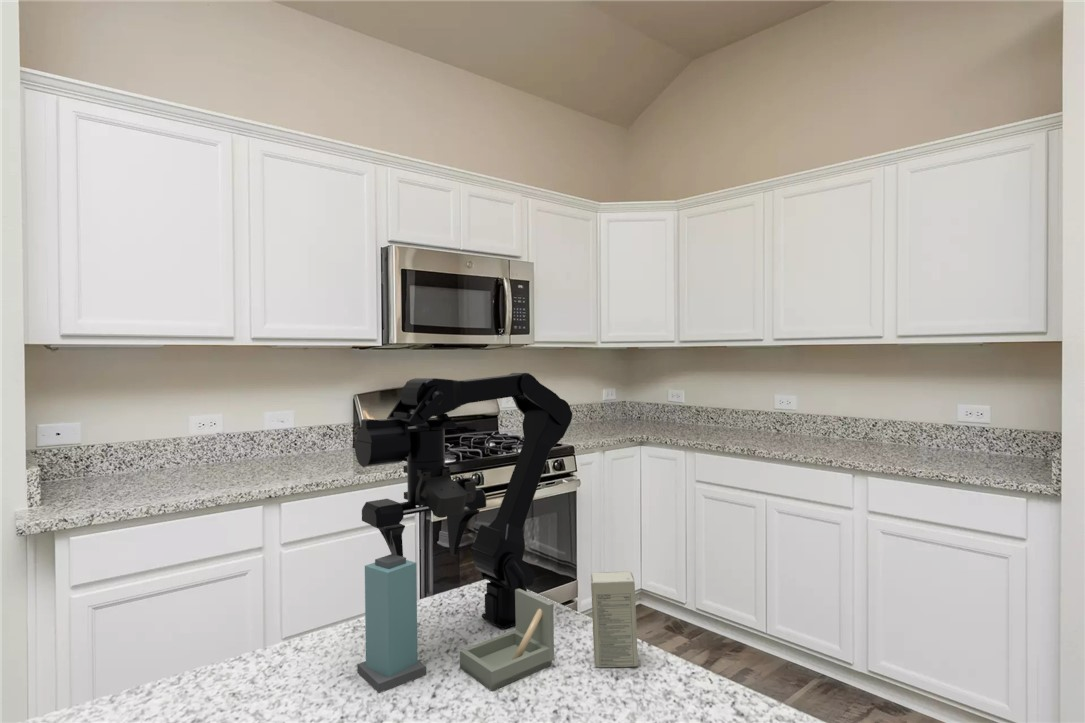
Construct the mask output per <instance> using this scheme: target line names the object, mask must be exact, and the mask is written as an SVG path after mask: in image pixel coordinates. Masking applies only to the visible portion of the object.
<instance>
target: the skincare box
mask: <svg viewBox="0 0 1085 723" xmlns="http://www.w3.org/2000/svg"><path fill="white" fill-rule="evenodd" d="M635 585H636V582H635V578H634V575H633V573H632V571H631V570H630V571H599V572H590V586H591V587H590V588H591V611H592V612H591V614H592V616H591V617H592V636H593V639H592V640H593V642H592V643H593V659H594V660H593V661H594V667H595V668H624V667H625V668H626V667H627V668H628V667H638V666H639V656H638V655H639V653H638V651H639V650H638V632H637V629H638V627H637V610H636V609H637V607H636V589H635V588H636V586H635Z"/></svg>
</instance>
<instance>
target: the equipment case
mask: <svg viewBox="0 0 1085 723" xmlns="http://www.w3.org/2000/svg"><path fill="white" fill-rule="evenodd" d="M515 616H516V625H515V629H514V630H511V631H508V632H506V633H503V634H501V635H499V636H495V637H492V638H490V639H489V638H488V639H487V640H484V641H482V642H479V643H476V644H473V645H470V646H468V647H466V648H462V649H460V650H459V669H460V670H462V671H463V672H465V673H466V674H468V675H469V676H470V677H472V678H473V679H474V680H475V681H477V682H479V683H480V684H482V685H483V686H484V687H486V688H487V689H489V690H490V691H492V692H493V691H497V689H500V688H502V687H504V686H507V685H509V684H512V683H514V682H516V681H519V680H521V679H523V678H525V677H527V676H530V675H532V674H534V673H536V672H539V671H541V670H544V669H546V668H549V667H550V666H551V662H552V661H555V642H554V641H555V636H554V635H555V633H554V632H555V631H554V629H555V627H554V622H555V621H554V619H555V618H554V603H552V602H550V601H548V600H547V599H544V598H542V597H539V596H537V595H536V594H533V593H531V592H529V591H527V592H526V591H524V590H522V589H516V590H515Z"/></svg>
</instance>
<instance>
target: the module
mask: <svg viewBox="0 0 1085 723" xmlns="http://www.w3.org/2000/svg"><path fill="white" fill-rule="evenodd" d="M417 579H418V578H417V562H415V561H411V560H408V559H407V557H405V556H403V557H402V556H398V555H394V554H391V553H390V554H388V555H385V556H382V557H379V558H376V559H375V560H374V562H372V563H370V564H366V565H364V608H365V609H364V610H365V611H364V614H365V615H364V616H365V617H364V619H365V627H364V628H365V661H366V667H368V668H370V669H372V670H374V671H376V672H378V673H381V674H383V675H385V676H387V677H391V676H393V675H395V674H396V673H398V672H400V671H402V670H404V669H406V668H408V667H410V666H412V665H414V664H416V663H417V662H418V660H419V658H418V598H417V597H418V592H417V591H418V587H417V585H418V584H417V583H418V582H417Z"/></svg>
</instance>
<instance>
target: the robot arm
mask: <svg viewBox="0 0 1085 723" xmlns="http://www.w3.org/2000/svg"><path fill="white" fill-rule="evenodd" d="M506 398H512V400H513V402H514V405H515V407H516V408H517V409H518V410H519V411H520V412H521V414H522V415H524V416H523V420H522V423H521V424H522V431H523V432H522V433H523V439H524V440H523V443H522V446H521V449H520V453H519V454H518V457H517V460H516V463H515V465H514V468H513V470H512V473H511V476H510V479H509V482H508V484H507V487H506V490H505V493H504V495H503V497H502V498H503V499H502V501H501V503H500V506H499V510H498V512H497V515H496V517H495V519H494V520H493V521H492V522H491V523H490V524H489V525H488V526H487V525H485V524H481V525H480V526H479V527H478V531H477V534H476V537H475V540H474V542H473V543H472V545H471V546H470V548H471V549H473V550H472V554H471V560H472V561H473V565H474V567H475V569H476V570H478V571H479V574H480V577H481V579H483V580H486V581H489V582H487V583H486V593H485V594H484V613H482V614H481V618H482V619H484V620H486V621H487V622H489V623H491V624H493V625H494V626H496V627H498V628H500V629H503V630H504V629H507V628H510V627H511V628H512V627H514V626H516V616H515V590H516V589H522V590H524V591H526V592H528V590H527V589H528V587H531V586H533V584H534V580H535V576H536V572H535V570H534V569H533V568H532V567H530V566H529V565H528V564H527V563H526V562H525V561H524V555H525V549H526V544H525V536H524V527H525V523H526V521H527V519H528V518H527V517H528V516H529V515H528V514H529V512H530V509H531V507H532V505H533V504H532V503H533V500H534V498H535V494H536V492H537V490H538V486H539V484H540V481H541V477H542V476H543V472H544V470H545V467H546V463H547V461H548V458H549V455H550V452H551V450H552V449H553V448H554V447H555V446H556V445H557V444H558V443H559V442H560V441H561V440H562V439H563V438H564V437H565V435H566V432H567V430H568V428H569V427H570V425H571V423H572V419H573V418H572V417H573V411H572V410H571V407H570V405H569V403H568V402H567V401H566V400H565V399H563V398H560V396H559V395H558V394H557V393H556V392H554V391H553V390H551V389H549V388H548V387H546V386H545V385H544V384H542V383H541V382H539V380H538V379H537V378H536V377H535V376H534V375H532V374H531V373H530V372H529V373H528V372H512V373H509V374H505V375H496V376H495V375H494V376H489V377H488V376H487V377H479V378H478V377H477V378H471V379H470V378H469V379H463V380H455V379H448V378H446V379H445V378H432V377H431V378H427V377H426V378H422V377H421V378H420V377H418V378H417V377H415V378H412V379H409V380H407V381H406V383H405V385H403V387H402V389H401V394H400V398H399V399H398V401H397V402H396V404H395V405H394V407H393V408H392V409H391V412H390V413H389V415H388V416H387V418H384V419H383V418H382V419H374V418H373V419H372V418H365V419H361V421H360V428H359V429H358V432H357V435H356V439H355V441H354V451H355V452H354V453H355V457H356V460H357V462H358V464H359V466H361V467H362V468H367V467H375V466H385V465H392V464H400V463H402V462H403V461H404V460H405V458H406V461H407V462H406V464H407V465H403V468H402V470H403V473H405V474H407V475H406V476H407V480H406V481H407V483H406V484H407V491H404V492H403V499H404V500H406V501H405V502H404V501H403V502H398V501H395V500H392V499H390V498H382V499H377V500H371V501H366V502H365V503H364V505H363V507H362V509H361V522H364V523H366V524H368V525H370V526H372V527H373V528H376V529H378V530H379V532H380V533H381V536H382V537H383V539H384V541H385V542H386V545H387V546H388V549H389V551H390V554H394V555H398V556H402V557H404V548H403V532H404V530H405V528H406V525H404V524H402V523H401V522H402V521H403V520H404V516H406V515H407V516H408V515H412V514H418V513H422V512H423V513H424V512H429V511H432V514H433V515H434V516H435V517H436V518H443V519H444V518H446V526H447V536H448V546H449V547H448V548H449V553H450V555H452V556H456V555H457V553H458V550H459V546H460V544H461V542H462V538H463V535H464V532H465V529H466V527H467V525H468V522H469V521H470V520H471V519H472V518H473V517H474V516H475V515H477V514H478V515H479V513H480V510H481V509H484V508H486V507H487V495H486V493H485V491H484V490H483V488H478V487H477V486H476V485H477V484H476V481H475V479H473V478H472V477H464V478H460V479H456V480H453V478H452V476H451V469H450V466H449V465H446V456H445V455H446V450H445V447H446V445H445V444H446V443H445V442H446V441H445V440H446V439H445V430H453V429H457V427H458V423H456V422H455V420H453V419H451V417H450V416H449V415H448V414H447V413H450V412H452V411H455V410H456V409H459V408H460V407H461V406H464V405H467V404H470V403H471V404H473V403H479V402H486V401H491V400H492V401H493V400H498V399H499V400H500V399H506ZM432 417H435V418H432Z"/></svg>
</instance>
